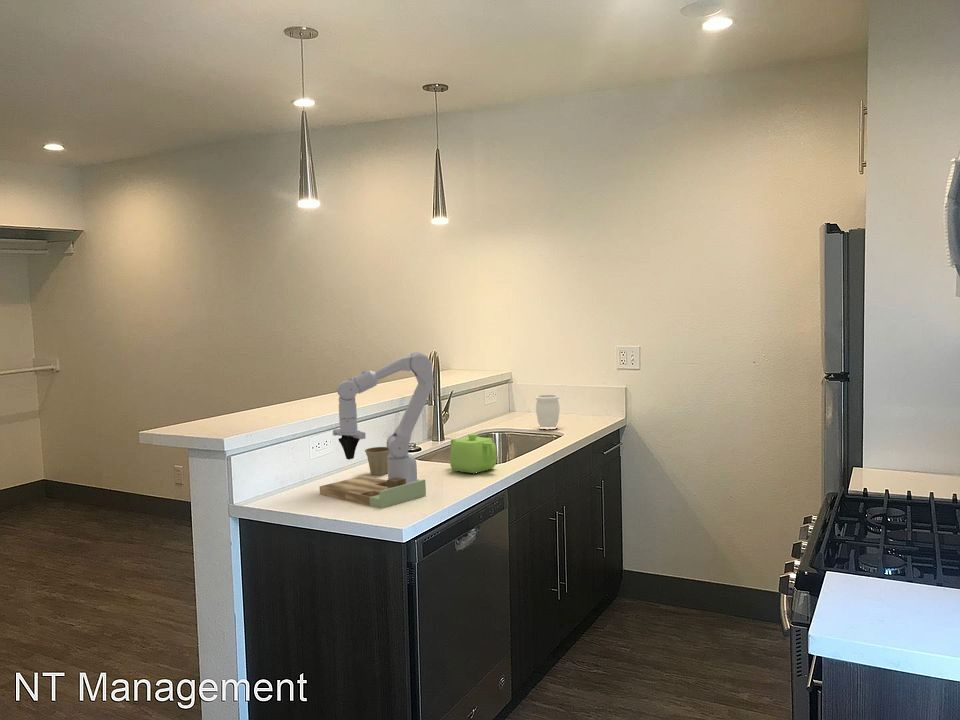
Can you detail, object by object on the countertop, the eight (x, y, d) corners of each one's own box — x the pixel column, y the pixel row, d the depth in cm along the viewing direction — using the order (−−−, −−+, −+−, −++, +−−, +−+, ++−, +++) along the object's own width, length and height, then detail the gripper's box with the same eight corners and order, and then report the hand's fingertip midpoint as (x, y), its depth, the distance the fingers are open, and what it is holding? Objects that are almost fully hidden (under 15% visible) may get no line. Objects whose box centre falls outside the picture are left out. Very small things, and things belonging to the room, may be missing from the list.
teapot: (472, 462, 301) (471, 427, 300) (515, 467, 288) (514, 431, 287) (438, 471, 287) (437, 434, 286) (482, 478, 274) (481, 439, 273)
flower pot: (375, 477, 280) (373, 453, 279) (360, 473, 287) (359, 449, 286) (397, 473, 286) (396, 449, 285) (383, 469, 293) (382, 445, 292)
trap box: (363, 483, 272) (362, 468, 272) (426, 495, 252) (425, 479, 252) (319, 494, 259) (319, 478, 258) (382, 508, 239) (381, 491, 238)
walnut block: (397, 490, 250) (396, 477, 250) (406, 491, 247) (405, 478, 247) (387, 492, 247) (387, 479, 247) (396, 494, 244) (395, 481, 244)
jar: (563, 428, 369) (563, 395, 368) (553, 431, 360) (552, 398, 359) (543, 426, 375) (542, 394, 373) (532, 430, 366) (531, 397, 365)
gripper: (324, 417, 267) (326, 458, 268) (352, 421, 257) (354, 463, 258) (341, 414, 272) (343, 454, 273) (369, 418, 263) (371, 459, 264)
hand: (350, 458), depth 266 cm, fingers closed
